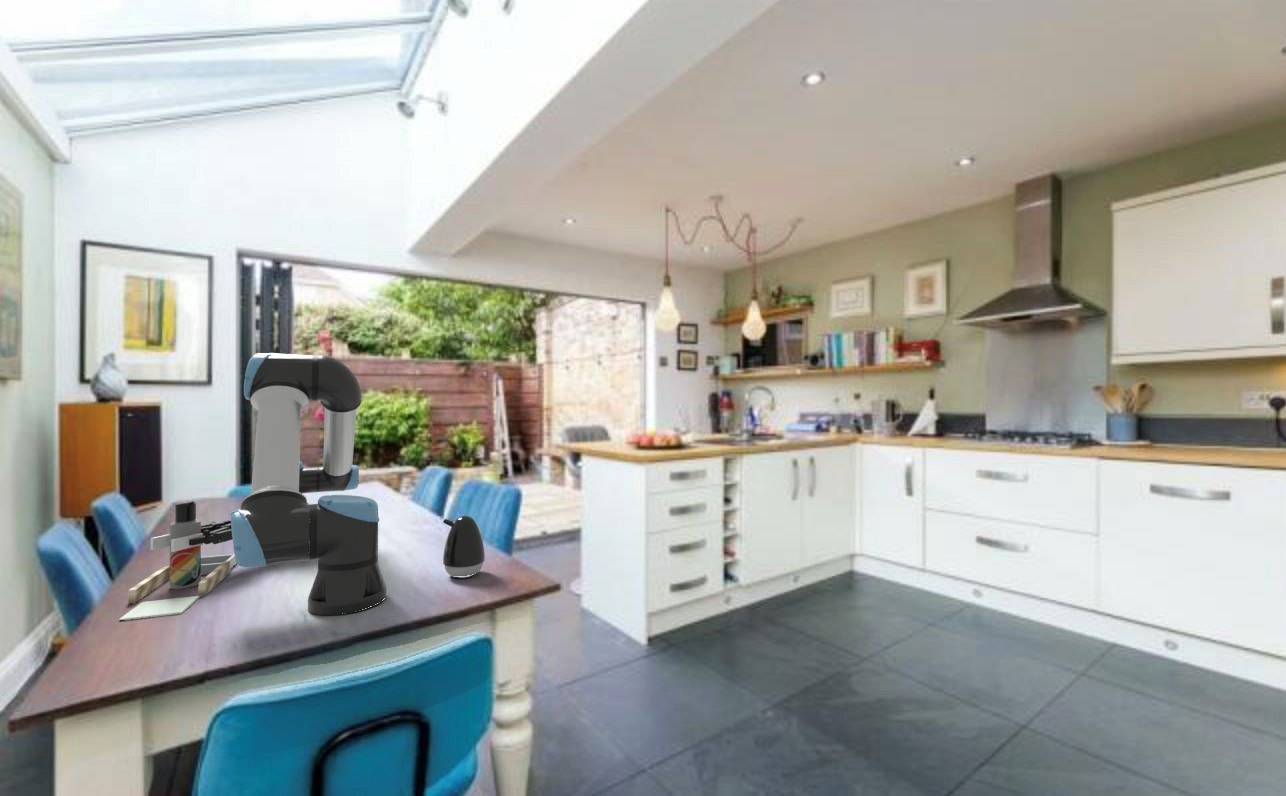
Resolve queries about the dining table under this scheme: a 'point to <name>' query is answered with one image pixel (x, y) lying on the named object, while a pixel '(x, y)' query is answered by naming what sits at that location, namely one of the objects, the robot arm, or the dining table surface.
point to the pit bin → (215, 562)
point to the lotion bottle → (187, 560)
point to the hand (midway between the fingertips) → (162, 544)
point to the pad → (160, 608)
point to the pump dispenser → (463, 547)
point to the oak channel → (164, 575)
